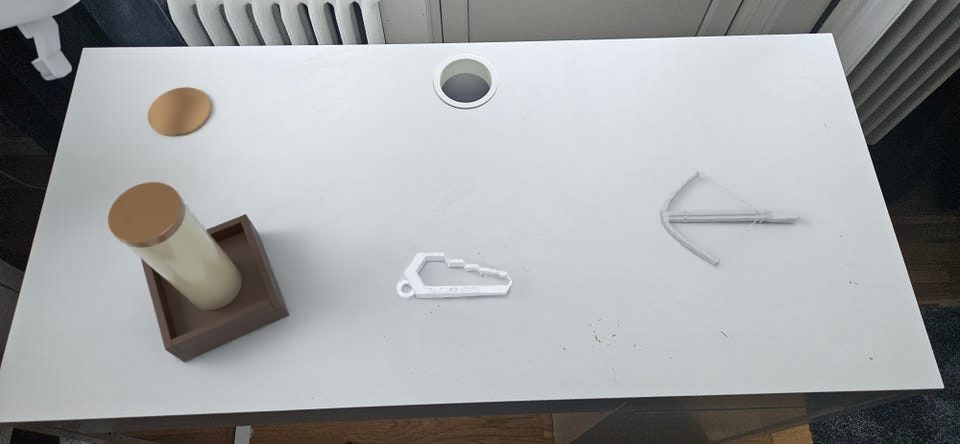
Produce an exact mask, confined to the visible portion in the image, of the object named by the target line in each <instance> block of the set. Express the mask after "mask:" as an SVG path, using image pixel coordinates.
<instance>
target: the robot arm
mask: <svg viewBox="0 0 960 444" xmlns="http://www.w3.org/2000/svg"><path fill="white" fill-rule="evenodd" d="M80 1H81V0H0V31H2V30H5V29H9V28H13V27H17V28H18V29H19V32H21V34H23V36H24V38H26V39H28V40H29V39H33V40H34V45H35V48H36V52H37V55H38V56H37V58H35V59H33V60H32V61H31V64H32V65H33V67H34V68H35V69H36V70H37V71H38V72H40V76H41V77H42V78H43V80H46V81H53V80H56V79H61V78H64V77H66V76H67V75H68V74H70V73H71V72H72V70H73V68H72V65H71V63H70V62H69V60H68V59H67V57H66V56H65V54H64V53H63V51H62V50H61V40H60V31H59V24H58V23H57V21H56V19H54V18H53V16H57V15H59V14H62V13H63V12H65V11H67V10H68V9H70V8H72V7H73V6H74V5H76V4H78V3H79V2H80Z"/></svg>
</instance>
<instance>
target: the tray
mask: <svg viewBox="0 0 960 444" xmlns="http://www.w3.org/2000/svg"><path fill="white" fill-rule="evenodd" d="M206 230H207V231H208V232H209V233H210V235H211V236H212V237H213V238H214V240H215V241H216V242H217V243H218V244H219V246H220V247H221V248H222V249H223V251H224V252H225V253H226V254H227V255H228V257H229V258H230V259H231V260H232V262H233V263H234V264H235V265H236V266H237V268H238V269H239V271H240V273H241V276H242V285H241V289H240V291H239V293H238V295H237V296H236V297H235V298H234V299H233V300H232V301H231V302H230V303H229V304H227V305H226V306H224V307H222V308H219V309H215V310H203V309H200V308H198V307H196V306H194V305H193V304H192V303H191V302H190V301H189V300H188V299H186V298H185V297H184V296H183V295H182V294H181V293H180V292H179V291H178V290H176V289H175V288H174V287H173V286H172V285H171V284H170V283H169V282H167V281H166V280H165V279H164V278H163V277H162V276H161V275H160V274H158V273H157V272H156V271H155V270H154V269H153V268H152V267H151V266H150V265H148V264H147V263H146V262H145V261H144V260H143V259H142V258H141V257H140V260H141V264H142V268H143V272H144V276H145V279H146V283H147V287H148V291H149V295H150V299H151V302H152V305H153V309H154V313H155V317H156V321H157V325H158V328H159V332H160V336H161V339H162V343H163V347H164V350H165V351H166V352H168V353H169V354H171V355H172V356H173V357H175V358H177V359H179V360H180V361H181V362H183V363H185V362H188V361H190V360H193V359H195V358H196V357H200V356H201V355H204V354H206V353H208V352H210V351H212V350H215V349H217V348H220V347H221V346H224V345H226V344H229V343H230V342H232V341H236V340H237V339H239V338H241V337H244V336H246V335H248V334H251V333H253V332H255V331H257V330H260V329H262V328H265V327H266V326H269V325H271V324H273V323H275V322H278V321H280V320H282V319H284V318H286V317H289V316H290V312H289V310H288V307H287V305H286V302H285V300H284V297H283V294H282V291H281V289H280V286H279V284H278V281H277V278H276V276H275V273H274V270H273V267H272V265H271V262H270V260H269V256H268V254H267V252H266V249H265V247H264V243H263V241H262V239H261V236H260V234H259V231H258V230H257V229H256V227H255V226H254V224H253V223H252V221H251V219H250V218H249V216H248V215H247V214H246V213H244V214H242V215H239V216H237V217H235V218H232V219H230V220H227V221H224V222H221V223H219V224H216V225H214V226H212V227H209V228H206Z"/></svg>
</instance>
